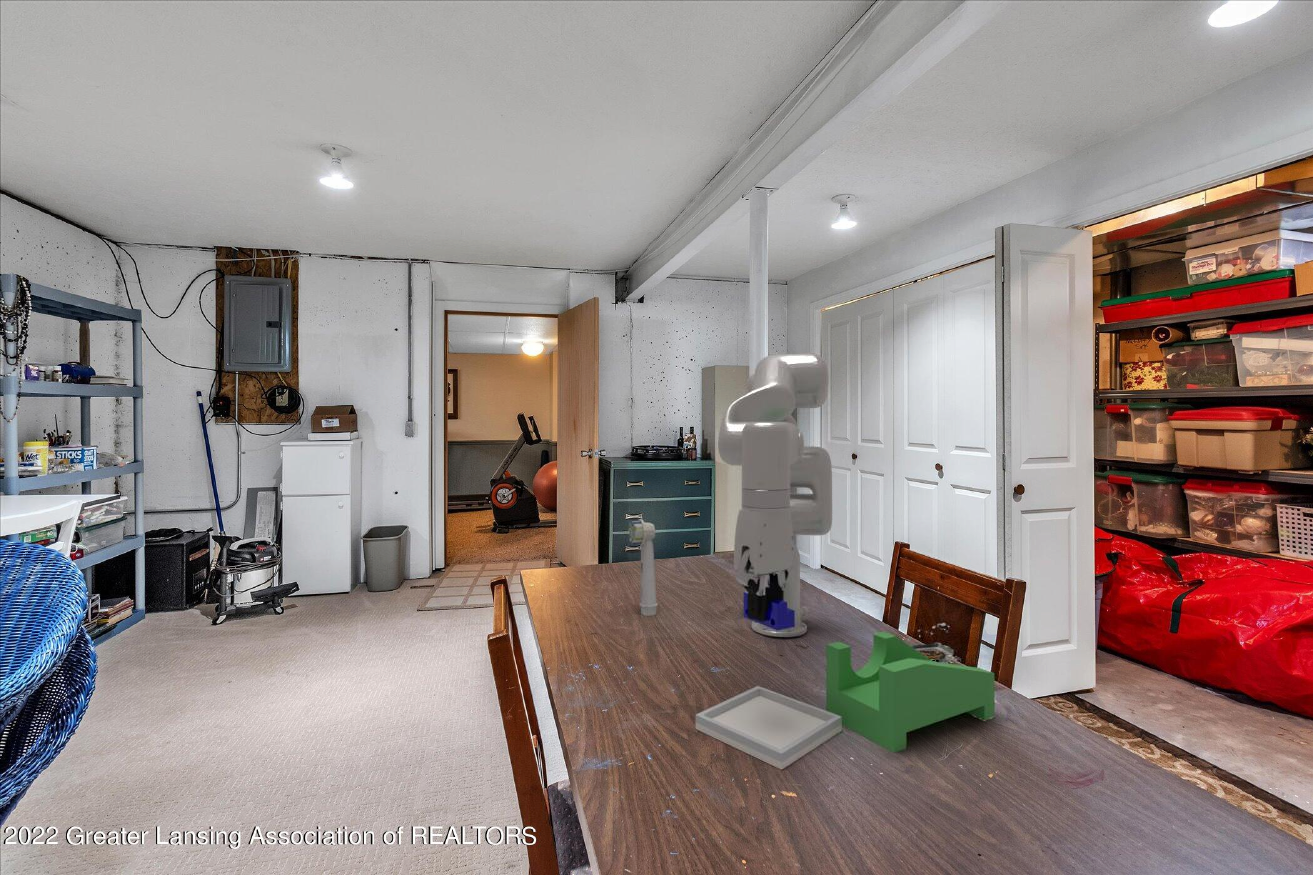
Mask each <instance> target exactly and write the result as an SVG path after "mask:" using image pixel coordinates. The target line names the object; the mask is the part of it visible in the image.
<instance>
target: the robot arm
mask: <svg viewBox="0 0 1313 875" xmlns="http://www.w3.org/2000/svg"><path fill="white" fill-rule="evenodd" d="M829 377H830V376H829V370H828V365H827V363H826V360H824V358H823V357H822V356H821V355H819V354H817V353H814V352H813V353H811V352H810V353H809V352H807V353H805V352H804V353H803V352H802V353H778V354H777V353H776V354H771V355H767V356H764V357H763V358H762V359H760V361H759V362H758V363H757V364H756V367H755V370H754V373H752V374H751V375H749V377H748V379H747V382H746V388H747V389H746V390H747V393H745V394H743V395H742V396H740V397H739V398H737V399H736V400H735V401H733V402H732V403H731V404H730V405H728V406H727V408H726V409H725V411H724V413H723V415H722V419H721V421H720V422H721V423H720V427H719V432H718V440H717V449H718V454H719V457H720V459H721V460H722V462H724V463H725V464H727V465H730V466H739V467H741V509H739V510H738V514H737V519H736V524H735V534H734V546H733V547H734V549H733V567H734V568H733V569H734V571H735V572H736V573H735V575H734V580H736V581H737V582H739V583H740V584H741V585H742V586H743V588H744V592H746V593H748V618H750V619H754V620H758V621H761V622H763V621H766V610H767V611H768V610H769V608H770V604H771V601H777V600H783V601H786V602H787V608H789V609H792V610H795V627H792V628H787V629H782V630H778V631H777V630H775V629H772V628H770V627H767V626H765V625H762V624H760V623H757V622H755V621H752V620H751V628H752V630H753V631H754V632H756V633H758V634H761V635H764V636H768V637H775V638H776V637H777V638H793V637H799V636H802V635H804V634H805V633H806V632H807V631H808V626H807V624H806V622H804V621H802V617H803V616H805V615H807V614H809V613H810V609H809V607H808V606H807V605H804V606H801V555H800V552H799V549H798V548H797V546H796V544H795V543H794V536H825V535H827V534H828V533H829V532H830V531H831V528H832V526H833V525H832V524H833V471H832V470H833V468H832V459H831V456H830V454H829V452H828V450H827V449H826V448H823V447H821V446H813V445H811V446H810V445H808V446H805V440H804V434H803V433H802V431H800V429H799V427H798V423H797V421H796V419H795V418H794V417H793V415H792V413H793V412H794V411H795V409H817V408H821V407H823V405H824V404H825V402H826V400H827V398H828V397H827V396H828V390H829V388H828V387H829V380H830V379H829ZM791 488H801V489H803V488H805V489H809V490H810V491H811V492H812V493H794V492H791ZM754 578H755V579H757V581H756V580H754ZM750 619H749V620H750Z"/></svg>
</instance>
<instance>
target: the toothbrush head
mask: <svg viewBox="0 0 1313 875" xmlns="http://www.w3.org/2000/svg"><path fill="white" fill-rule="evenodd" d="M628 535H629V537H630V538H629V541H630V543H631V544H632V545H639V546H640V602H639V603H638V604H639V607H640V614H641V615H642V616H645V617H646V616H647V617H651V616H655V615H656V614H657V612H658V611H657V609H658V608H657V606H658V605H659V603H658V602H657V590H656V589H657V588H656V570H655V569H656V568H655V555H654V552H655V550H654V538H655V537H656V528H655V524H653V523H651V522H645V521H644V520H643V518H642V519H641V518H640V519H639V518H638V519H637V520H635V521H633V520H631V521H630V522H629V528H628Z"/></svg>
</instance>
